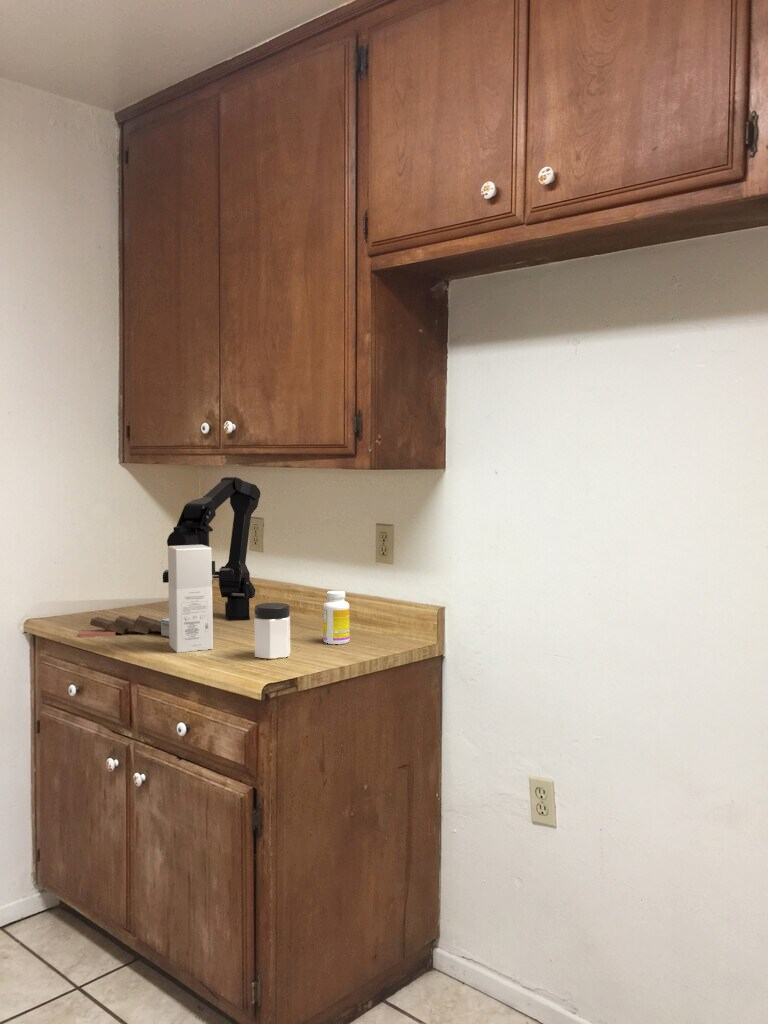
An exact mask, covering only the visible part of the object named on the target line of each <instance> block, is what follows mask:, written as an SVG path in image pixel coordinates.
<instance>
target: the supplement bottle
mask: <svg viewBox="0 0 768 1024" xmlns="http://www.w3.org/2000/svg"><path fill="white" fill-rule="evenodd" d="M326 597H327V601H325V602H324V603H323V606H322V613H323V614H322V617H323V618H322V621H323V622H322V623H323V628H322V629H323V631H322V634H323V637H322V638H323V642H324V643H325V644H327V643H328V644H327V645H335V644H338V645H344V644H345V645H346V644H348V643H349V642H350V639H351V637H350V635H351V634H350V630H351V629H350V603H349V602H348V601H345V598H346V592H345V591H344V590H343V591H342V590H330V591H327V592H326Z"/></svg>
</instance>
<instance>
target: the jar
mask: <svg viewBox="0 0 768 1024" xmlns="http://www.w3.org/2000/svg"><path fill="white" fill-rule="evenodd" d="M290 608H291V607H290V604H288V603H282V602H266V603H265V602H264V603H259V604H256V605H255V606H254V619H253V621H254V622H253V623H254V631H253V633H254V658H255V657H264V658H278V657H287V656H289V657H290V655H291V615H290V613H291V612H290ZM289 654H290V655H289Z"/></svg>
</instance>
